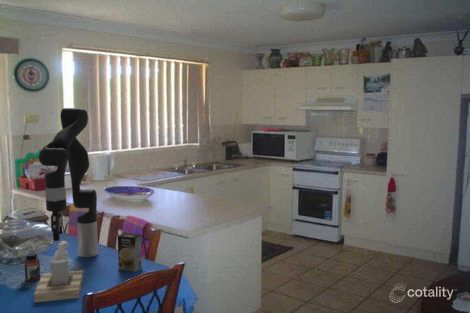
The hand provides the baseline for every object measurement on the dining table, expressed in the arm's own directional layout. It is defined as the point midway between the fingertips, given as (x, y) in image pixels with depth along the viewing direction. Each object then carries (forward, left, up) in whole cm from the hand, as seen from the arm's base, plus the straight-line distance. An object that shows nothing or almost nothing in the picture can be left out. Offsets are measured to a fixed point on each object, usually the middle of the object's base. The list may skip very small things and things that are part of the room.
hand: (58, 237), depth 175 cm
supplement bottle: (-14, -13, -22) cm, 29 cm away
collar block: (0, 0, -22) cm, 22 cm away
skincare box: (0, 0, -22) cm, 22 cm away
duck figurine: (-33, -4, -22) cm, 40 cm away
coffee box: (-16, +28, -22) cm, 39 cm away
